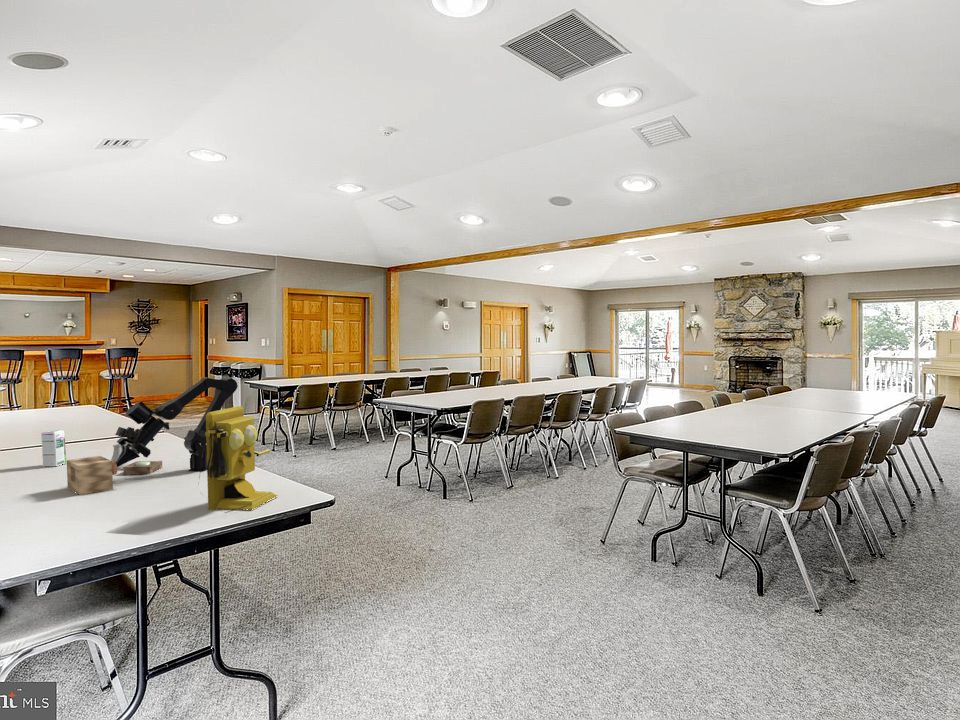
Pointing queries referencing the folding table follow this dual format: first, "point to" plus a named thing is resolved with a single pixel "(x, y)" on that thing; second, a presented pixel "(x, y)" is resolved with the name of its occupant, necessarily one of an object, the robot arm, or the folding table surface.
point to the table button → (142, 463)
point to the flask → (117, 455)
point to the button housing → (142, 468)
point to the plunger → (114, 468)
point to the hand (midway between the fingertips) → (115, 466)
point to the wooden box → (89, 474)
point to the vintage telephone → (231, 460)
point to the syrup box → (53, 448)
